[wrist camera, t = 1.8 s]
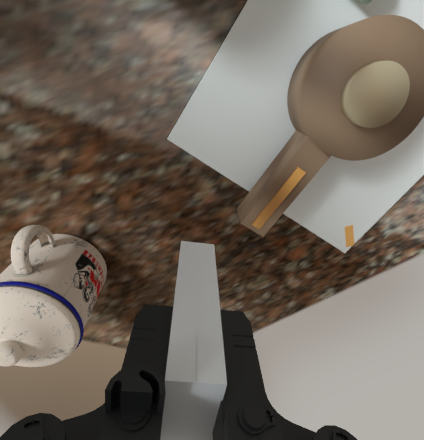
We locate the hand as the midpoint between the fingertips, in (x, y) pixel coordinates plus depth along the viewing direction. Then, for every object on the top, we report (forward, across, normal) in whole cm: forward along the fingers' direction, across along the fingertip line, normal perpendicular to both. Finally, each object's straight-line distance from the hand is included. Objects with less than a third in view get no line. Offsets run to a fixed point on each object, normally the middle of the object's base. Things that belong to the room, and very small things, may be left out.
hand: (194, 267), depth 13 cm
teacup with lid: (+16, -13, -11) cm, 23 cm away
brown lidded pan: (+14, +9, +5) cm, 17 cm away
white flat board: (+16, +11, +8) cm, 21 cm away
